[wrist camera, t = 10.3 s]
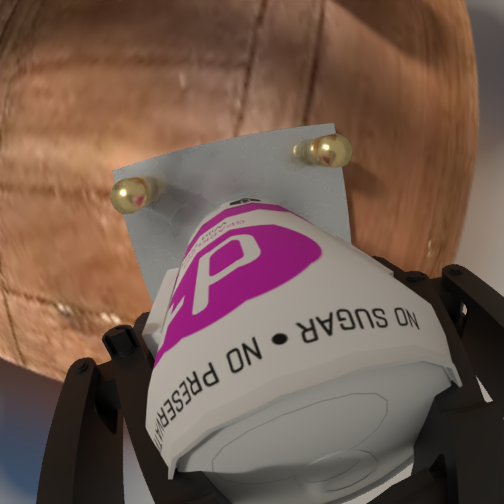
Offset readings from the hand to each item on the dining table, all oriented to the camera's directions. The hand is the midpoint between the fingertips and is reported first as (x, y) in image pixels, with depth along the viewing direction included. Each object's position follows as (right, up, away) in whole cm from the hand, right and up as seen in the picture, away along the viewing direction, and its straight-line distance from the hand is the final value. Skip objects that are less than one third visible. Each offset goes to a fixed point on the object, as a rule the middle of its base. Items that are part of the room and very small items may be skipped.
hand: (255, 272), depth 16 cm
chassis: (-1, +1, +5) cm, 5 cm away
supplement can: (0, +1, +3) cm, 3 cm away
